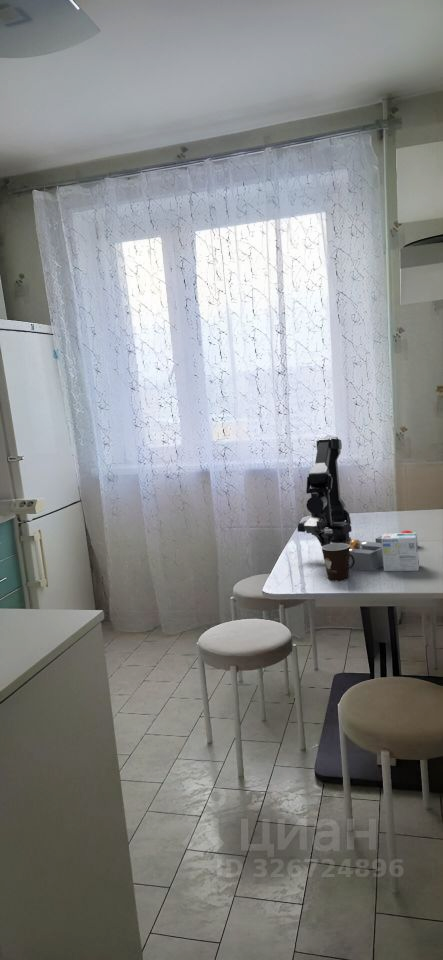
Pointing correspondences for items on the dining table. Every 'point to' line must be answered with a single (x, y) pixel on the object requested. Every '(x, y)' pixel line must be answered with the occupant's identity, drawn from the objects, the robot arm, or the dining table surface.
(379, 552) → the mount
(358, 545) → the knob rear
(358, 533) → the dining table surface
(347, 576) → the coffee mug
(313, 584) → the dining table surface
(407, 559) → the light bulb box
